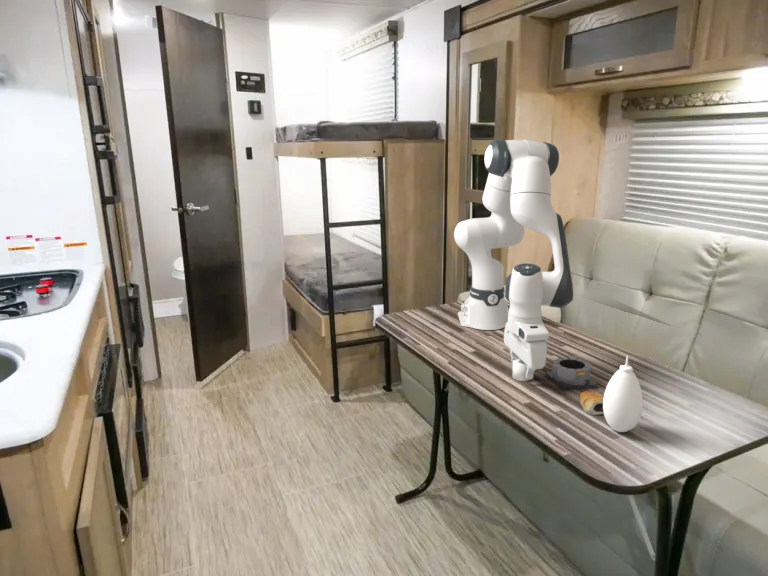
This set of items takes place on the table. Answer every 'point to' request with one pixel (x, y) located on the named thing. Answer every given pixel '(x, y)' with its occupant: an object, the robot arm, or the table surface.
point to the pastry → (592, 402)
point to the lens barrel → (571, 374)
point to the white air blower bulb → (623, 400)
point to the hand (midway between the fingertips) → (521, 371)
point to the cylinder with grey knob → (519, 370)
